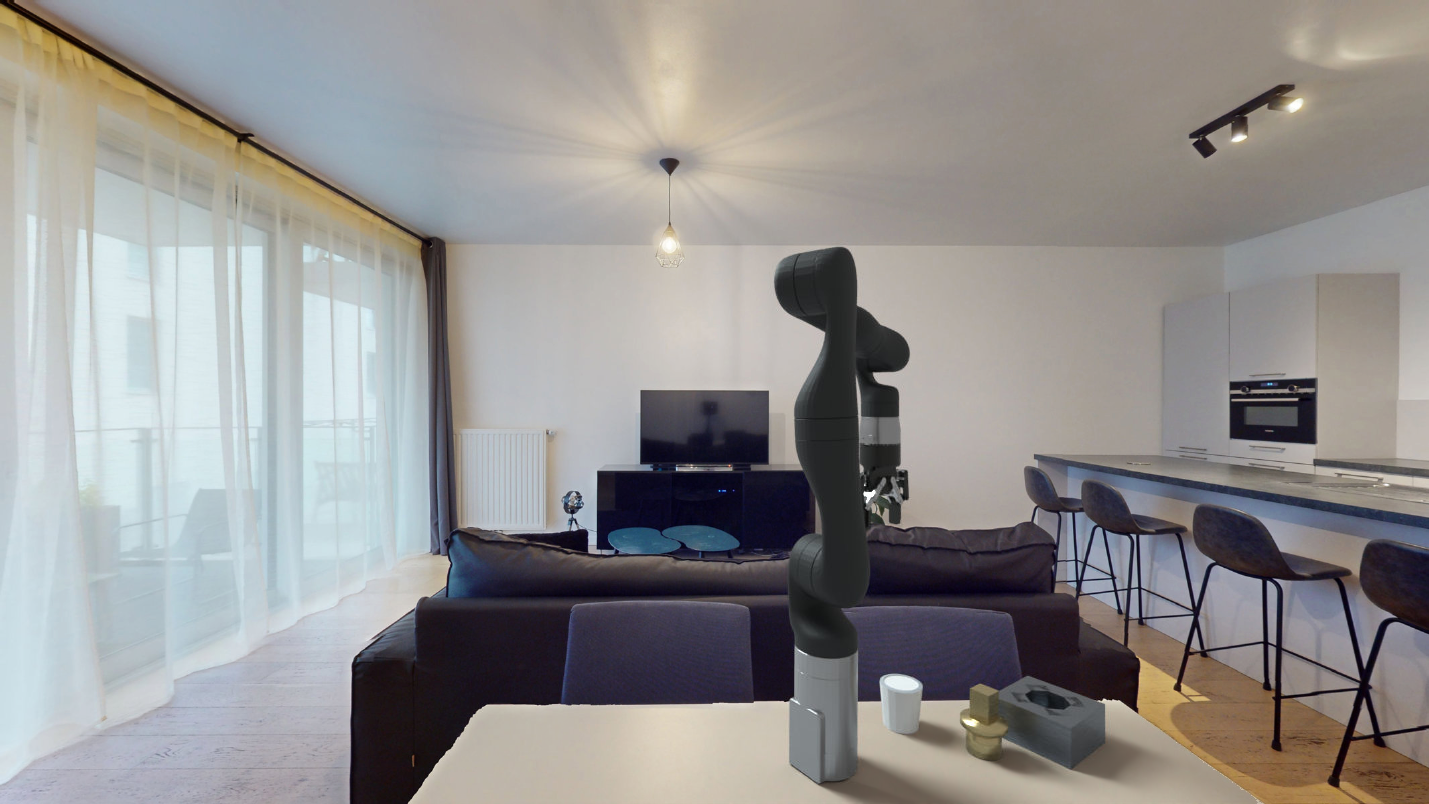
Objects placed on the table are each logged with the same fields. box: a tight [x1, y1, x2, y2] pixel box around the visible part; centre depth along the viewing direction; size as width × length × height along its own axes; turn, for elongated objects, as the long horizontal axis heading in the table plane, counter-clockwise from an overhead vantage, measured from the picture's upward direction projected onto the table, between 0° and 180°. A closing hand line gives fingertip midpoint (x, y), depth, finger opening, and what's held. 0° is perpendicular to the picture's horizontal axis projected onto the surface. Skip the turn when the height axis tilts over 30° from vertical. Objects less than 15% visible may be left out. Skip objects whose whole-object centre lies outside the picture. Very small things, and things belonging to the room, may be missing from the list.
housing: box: [998, 675, 1106, 770], centre depth 94 cm, size 12×12×6 cm
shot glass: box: [879, 673, 924, 735], centre depth 98 cm, size 7×7×7 cm
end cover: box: [959, 683, 1009, 761], centre depth 90 cm, size 7×7×9 cm
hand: (880, 526), depth 111 cm, fingers open, 8 cm apart
